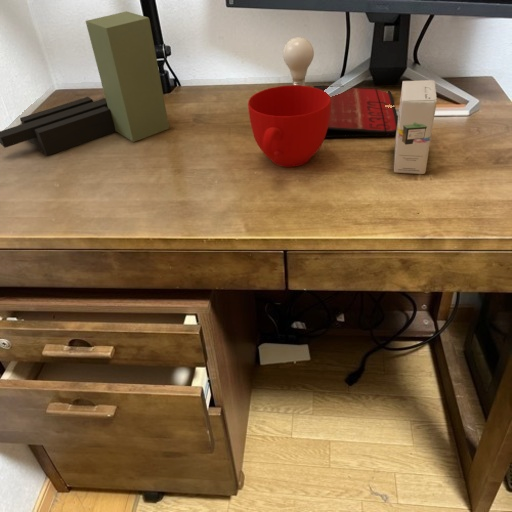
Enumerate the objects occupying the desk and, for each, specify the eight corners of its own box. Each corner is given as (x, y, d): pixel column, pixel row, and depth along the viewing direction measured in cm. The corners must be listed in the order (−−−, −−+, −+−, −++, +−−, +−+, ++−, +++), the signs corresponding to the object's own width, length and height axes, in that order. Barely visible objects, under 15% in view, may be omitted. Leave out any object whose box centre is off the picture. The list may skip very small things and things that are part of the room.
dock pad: (27, 139, 96) (19, 117, 93) (93, 117, 103) (87, 96, 100) (47, 156, 90) (38, 133, 87) (116, 131, 97) (110, 109, 94)
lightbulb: (318, 88, 108) (319, 34, 101) (304, 98, 104) (304, 43, 97) (293, 84, 110) (292, 32, 104) (278, 94, 106) (276, 40, 100)
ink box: (393, 148, 84) (401, 78, 76) (424, 149, 83) (435, 79, 75) (392, 173, 77) (401, 99, 70) (425, 174, 76) (438, 100, 69)
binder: (309, 126, 87) (312, 84, 103) (309, 138, 88) (311, 95, 105) (402, 128, 85) (390, 85, 102) (400, 141, 87) (389, 96, 103)
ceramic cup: (230, 183, 78) (224, 123, 72) (268, 137, 90) (265, 82, 84) (309, 194, 74) (309, 132, 68) (337, 144, 86) (339, 88, 80)
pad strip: (-1, 143, 90) (-5, 132, 89) (117, 104, 101) (115, 94, 100) (4, 148, 88) (0, 137, 87) (124, 107, 99) (122, 98, 98)
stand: (113, 130, 97) (85, 20, 85) (148, 117, 101) (126, 11, 89) (133, 142, 92) (106, 28, 80) (169, 128, 96) (149, 17, 84)
